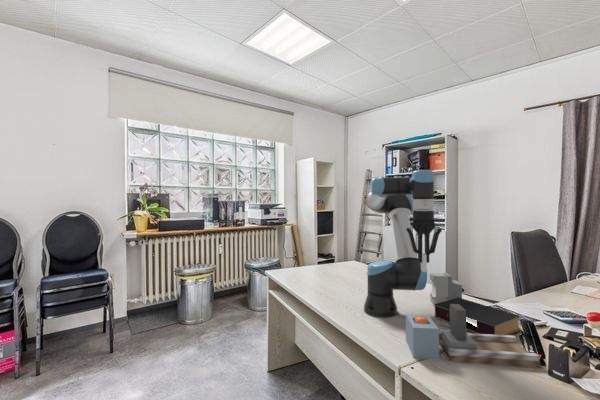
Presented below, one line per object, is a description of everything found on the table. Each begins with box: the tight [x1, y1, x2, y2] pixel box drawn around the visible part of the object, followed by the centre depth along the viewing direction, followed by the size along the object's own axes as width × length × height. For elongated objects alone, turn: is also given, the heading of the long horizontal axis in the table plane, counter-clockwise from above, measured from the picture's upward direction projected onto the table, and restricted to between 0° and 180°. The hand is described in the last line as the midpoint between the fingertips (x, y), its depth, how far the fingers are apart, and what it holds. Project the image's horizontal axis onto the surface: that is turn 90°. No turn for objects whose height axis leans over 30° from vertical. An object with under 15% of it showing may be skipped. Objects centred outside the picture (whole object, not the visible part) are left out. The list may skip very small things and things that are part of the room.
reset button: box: [415, 316, 427, 324], centre depth 100 cm, size 4×4×4 cm
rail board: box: [439, 331, 541, 369], centre depth 97 cm, size 26×14×4 cm, turn 81°
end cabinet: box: [405, 313, 440, 360], centre depth 100 cm, size 8×12×10 cm, turn 171°
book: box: [433, 297, 520, 335], centre depth 120 cm, size 17×25×7 cm
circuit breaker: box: [429, 271, 465, 307], centre depth 143 cm, size 8×14×15 cm, turn 78°
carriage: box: [440, 304, 477, 350], centre depth 98 cm, size 8×10×13 cm
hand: (423, 270), depth 111 cm, fingers closed
